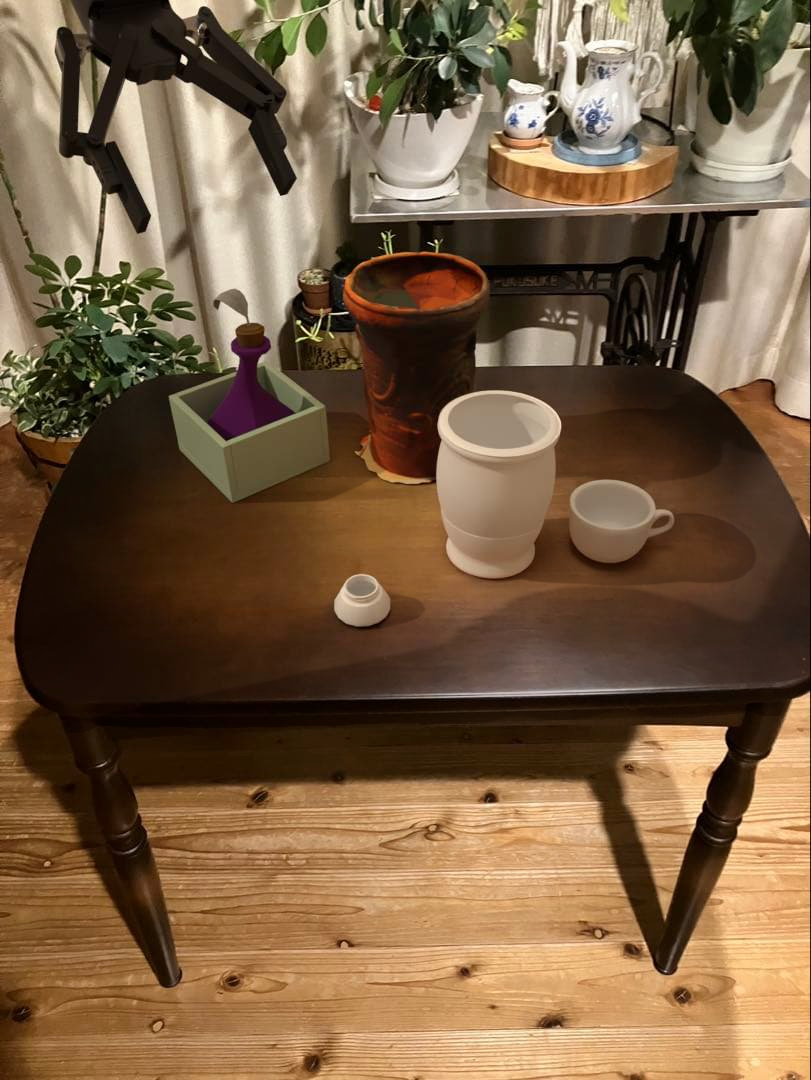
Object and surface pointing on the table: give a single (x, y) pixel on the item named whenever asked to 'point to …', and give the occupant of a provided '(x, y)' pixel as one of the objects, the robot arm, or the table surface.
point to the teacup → (612, 520)
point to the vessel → (413, 352)
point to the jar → (495, 479)
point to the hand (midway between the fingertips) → (219, 205)
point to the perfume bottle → (246, 379)
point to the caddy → (251, 435)
